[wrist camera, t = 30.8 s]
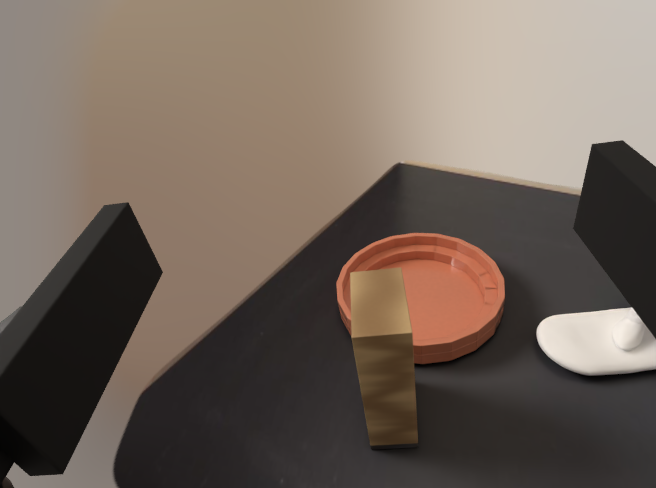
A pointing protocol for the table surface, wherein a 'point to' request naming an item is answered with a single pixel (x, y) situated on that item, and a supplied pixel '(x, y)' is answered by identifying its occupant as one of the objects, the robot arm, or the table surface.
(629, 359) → the figurine
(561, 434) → the table surface
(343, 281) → the bowl
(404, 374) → the wooden block
